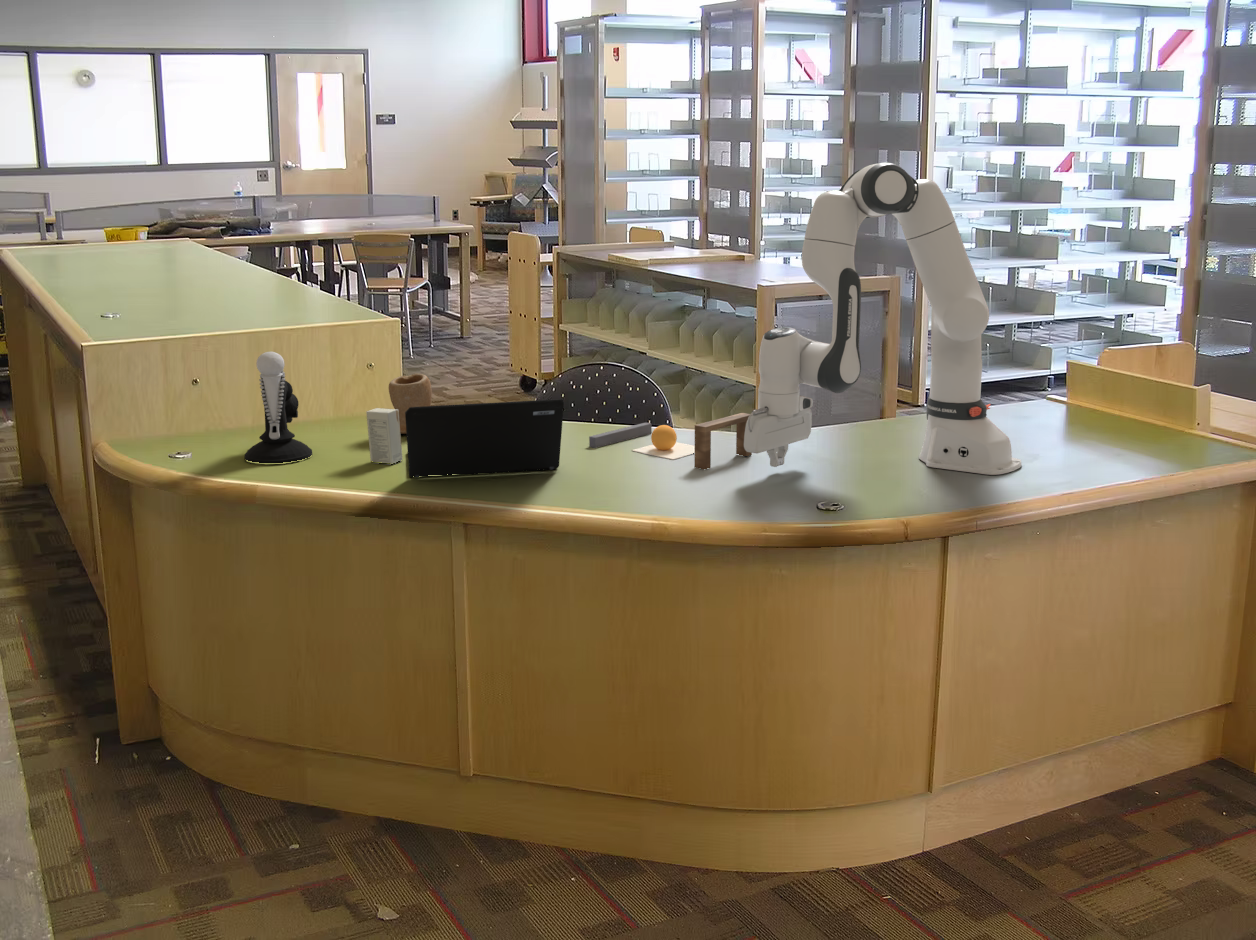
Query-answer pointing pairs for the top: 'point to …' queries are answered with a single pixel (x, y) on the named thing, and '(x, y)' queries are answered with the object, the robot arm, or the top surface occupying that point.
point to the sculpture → (277, 415)
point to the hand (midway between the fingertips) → (777, 465)
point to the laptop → (484, 437)
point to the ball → (664, 437)
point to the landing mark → (668, 451)
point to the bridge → (705, 438)
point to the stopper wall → (620, 435)
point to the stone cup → (409, 394)
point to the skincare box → (384, 435)
